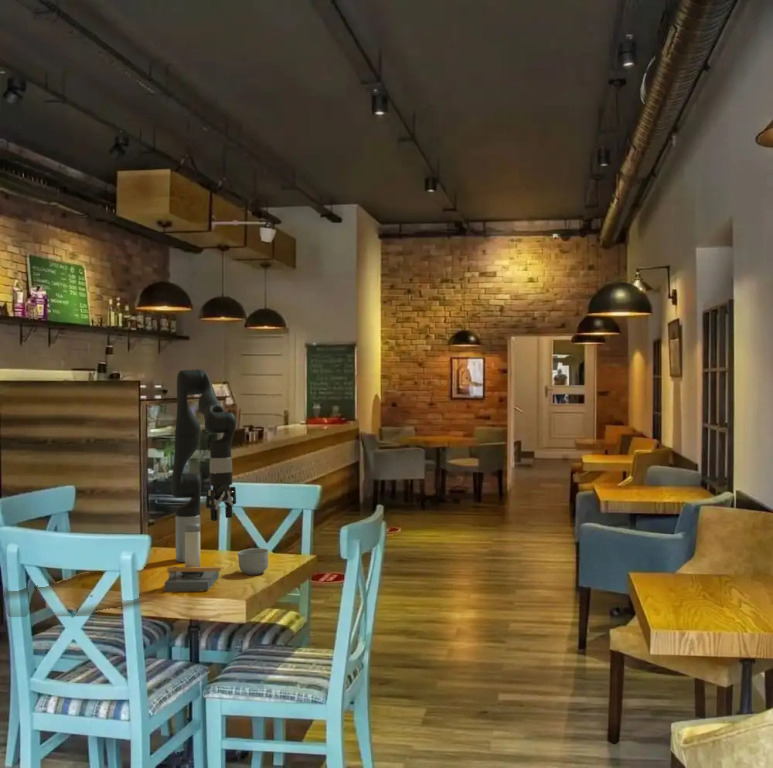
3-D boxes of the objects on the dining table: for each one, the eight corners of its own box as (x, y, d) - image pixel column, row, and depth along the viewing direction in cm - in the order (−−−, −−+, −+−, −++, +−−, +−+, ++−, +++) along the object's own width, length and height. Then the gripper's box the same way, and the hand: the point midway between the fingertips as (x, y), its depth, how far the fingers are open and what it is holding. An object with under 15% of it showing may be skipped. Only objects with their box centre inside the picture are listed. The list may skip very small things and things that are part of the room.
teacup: (267, 576, 304) (267, 553, 304) (236, 576, 303) (236, 553, 303) (270, 567, 318) (270, 545, 317) (240, 568, 317) (240, 546, 317)
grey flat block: (178, 577, 302) (177, 563, 302) (218, 577, 302) (218, 562, 302) (164, 591, 282) (164, 576, 282) (208, 591, 282) (208, 575, 282)
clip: (168, 570, 290) (168, 566, 290) (221, 569, 290) (221, 566, 290) (166, 572, 286) (166, 568, 286) (219, 571, 287) (219, 568, 287)
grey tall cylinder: (183, 581, 296) (183, 523, 296) (206, 581, 296) (206, 522, 296) (179, 586, 288) (178, 526, 288) (201, 586, 288) (201, 526, 288)
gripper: (223, 469, 301) (224, 516, 301) (199, 472, 288) (199, 521, 287) (242, 469, 298) (242, 517, 298) (218, 472, 285) (218, 522, 285)
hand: (221, 519), depth 293 cm, fingers open, 8 cm apart
